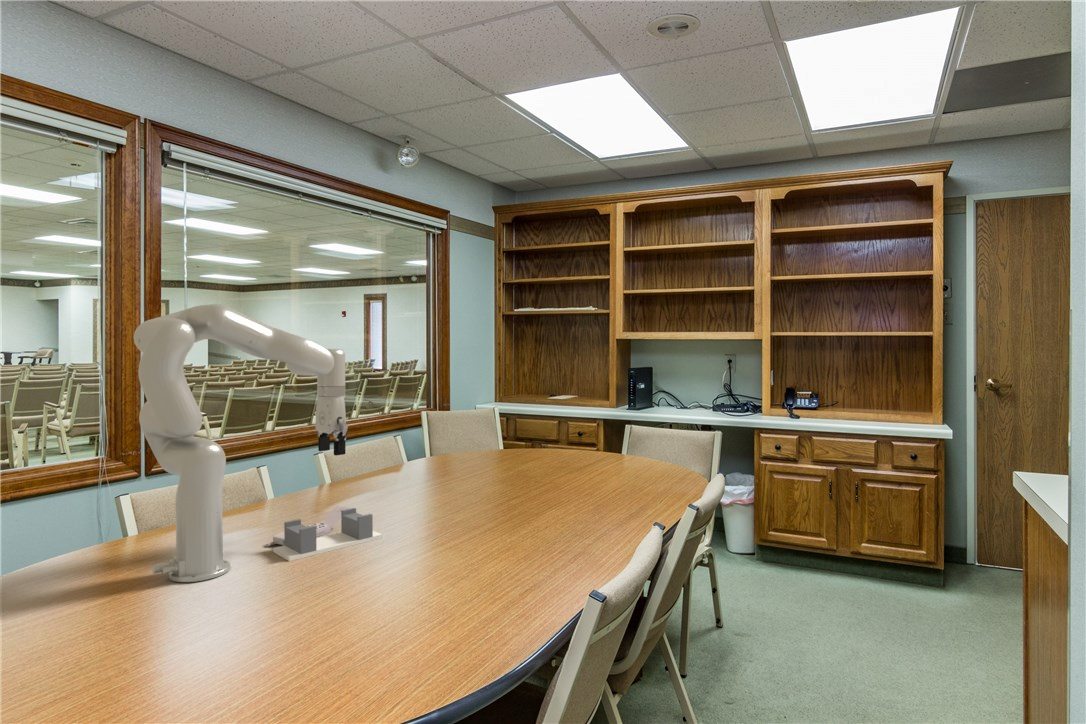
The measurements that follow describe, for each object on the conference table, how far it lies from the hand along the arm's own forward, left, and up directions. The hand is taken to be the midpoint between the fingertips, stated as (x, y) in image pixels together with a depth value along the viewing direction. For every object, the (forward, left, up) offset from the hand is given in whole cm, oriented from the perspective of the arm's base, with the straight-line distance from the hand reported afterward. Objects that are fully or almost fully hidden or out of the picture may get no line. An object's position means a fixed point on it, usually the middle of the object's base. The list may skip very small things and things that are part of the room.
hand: (331, 452), depth 172 cm
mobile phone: (-5, +3, -24) cm, 24 cm away
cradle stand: (-5, -8, -23) cm, 25 cm away
